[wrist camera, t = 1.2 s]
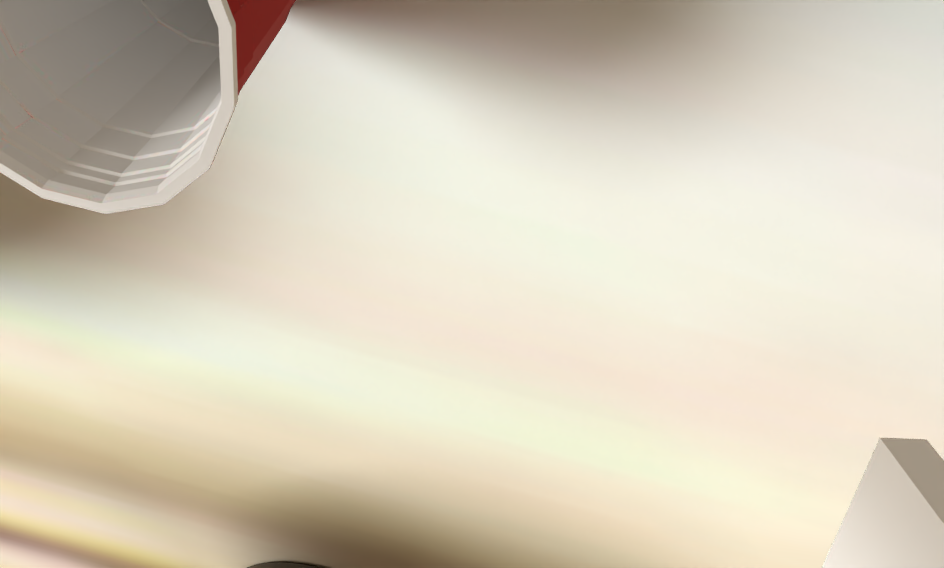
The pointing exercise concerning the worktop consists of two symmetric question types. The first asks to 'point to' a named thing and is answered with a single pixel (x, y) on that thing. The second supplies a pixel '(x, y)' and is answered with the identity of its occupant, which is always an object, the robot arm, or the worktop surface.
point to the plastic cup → (123, 93)
